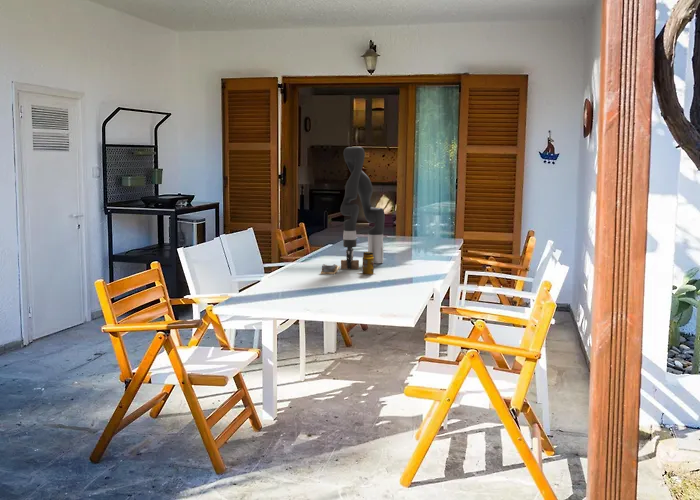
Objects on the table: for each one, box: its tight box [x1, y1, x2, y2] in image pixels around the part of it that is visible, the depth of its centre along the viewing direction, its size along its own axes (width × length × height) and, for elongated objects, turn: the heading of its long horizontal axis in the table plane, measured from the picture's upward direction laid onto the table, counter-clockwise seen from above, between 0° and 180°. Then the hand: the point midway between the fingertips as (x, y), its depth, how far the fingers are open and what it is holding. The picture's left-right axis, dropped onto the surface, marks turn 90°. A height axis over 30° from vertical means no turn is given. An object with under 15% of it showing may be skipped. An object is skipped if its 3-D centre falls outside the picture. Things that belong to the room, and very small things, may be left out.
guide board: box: [320, 263, 341, 275], centre depth 391 cm, size 8×22×4 cm, turn 174°
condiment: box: [356, 251, 375, 276], centre depth 379 cm, size 7×8×12 cm
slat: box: [340, 259, 360, 270], centre depth 398 cm, size 10×3×5 cm, turn 84°
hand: (349, 267), depth 398 cm, fingers open, 6 cm apart
